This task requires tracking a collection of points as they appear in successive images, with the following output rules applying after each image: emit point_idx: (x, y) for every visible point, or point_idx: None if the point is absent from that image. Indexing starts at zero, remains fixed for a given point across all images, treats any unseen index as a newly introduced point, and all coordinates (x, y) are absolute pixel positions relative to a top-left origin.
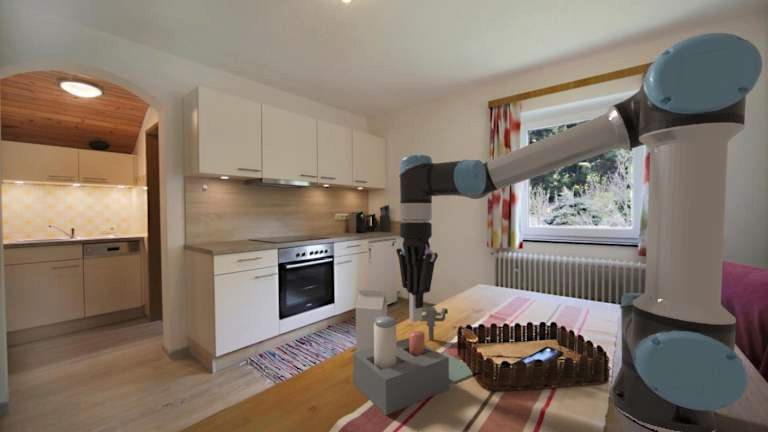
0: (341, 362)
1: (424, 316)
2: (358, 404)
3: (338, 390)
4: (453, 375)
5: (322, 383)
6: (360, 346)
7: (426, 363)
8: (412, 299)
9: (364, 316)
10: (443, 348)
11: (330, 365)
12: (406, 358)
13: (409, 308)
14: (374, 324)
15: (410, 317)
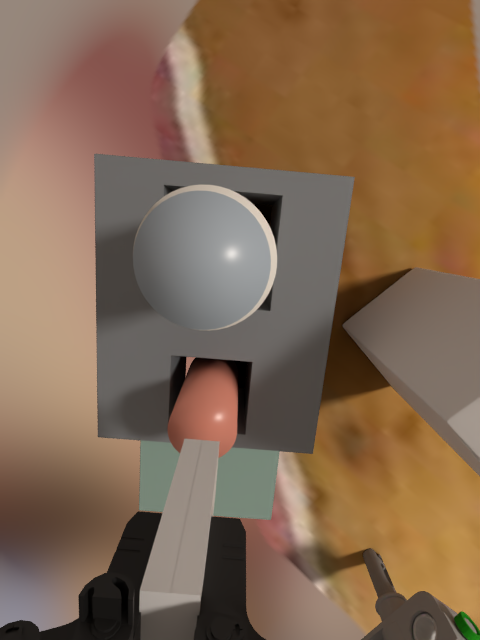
0: (466, 234)
1: (421, 623)
2: (221, 141)
3: (322, 130)
4: (163, 443)
5: (394, 106)
6: (435, 285)
7: (108, 350)
8: (161, 547)
9: None
10: (302, 539)
11: (477, 191)
12: None
13: (211, 488)
14: (242, 200)
15: (206, 452)
